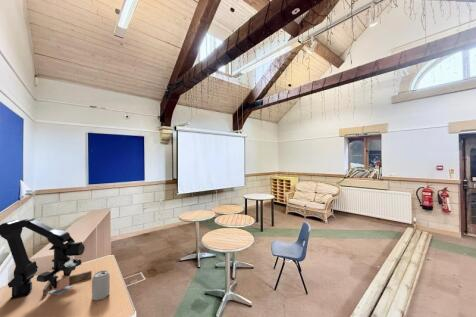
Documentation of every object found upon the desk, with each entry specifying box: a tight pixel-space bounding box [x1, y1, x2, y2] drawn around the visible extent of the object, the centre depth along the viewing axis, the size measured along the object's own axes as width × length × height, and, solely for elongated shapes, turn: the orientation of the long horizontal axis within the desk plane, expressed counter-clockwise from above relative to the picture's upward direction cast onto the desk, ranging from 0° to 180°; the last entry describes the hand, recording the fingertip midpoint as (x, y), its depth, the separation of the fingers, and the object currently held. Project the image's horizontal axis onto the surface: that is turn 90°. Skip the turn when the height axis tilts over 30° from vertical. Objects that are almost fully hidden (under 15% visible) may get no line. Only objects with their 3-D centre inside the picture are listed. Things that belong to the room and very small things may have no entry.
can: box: [91, 269, 111, 302], centre depth 102 cm, size 8×8×12 cm
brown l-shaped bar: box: [42, 270, 93, 297], centre depth 112 cm, size 20×9×4 cm, turn 122°
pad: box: [48, 285, 73, 296], centre depth 108 cm, size 7×7×1 cm
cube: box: [51, 274, 70, 291], centre depth 108 cm, size 5×5×5 cm
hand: (60, 285), depth 108 cm, fingers closed on cube, 5 cm apart
